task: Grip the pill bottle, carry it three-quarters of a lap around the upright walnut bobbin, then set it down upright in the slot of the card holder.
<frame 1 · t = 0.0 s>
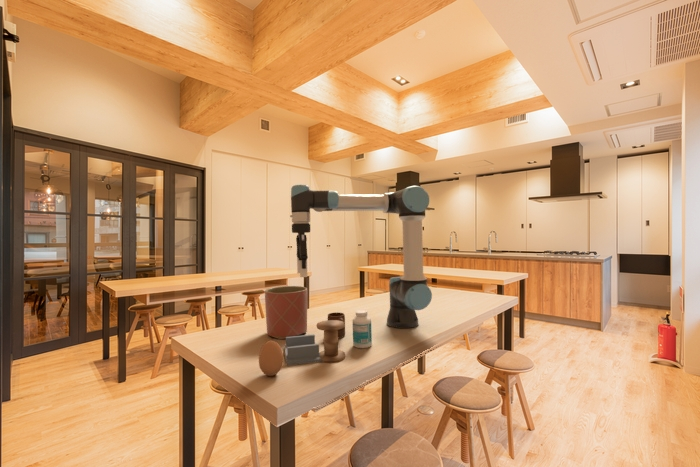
hand: (302, 275, 130), 28 cm above the table, fingers open, 13 cm apart
egg: (271, 375, 101), on the table
mug: (338, 337, 137), on the table
card holder: (301, 354, 118), on the table
bobbin: (331, 357, 114), on the table
planter: (287, 333, 144), on the table
pill bottle: (362, 346, 126), on the table
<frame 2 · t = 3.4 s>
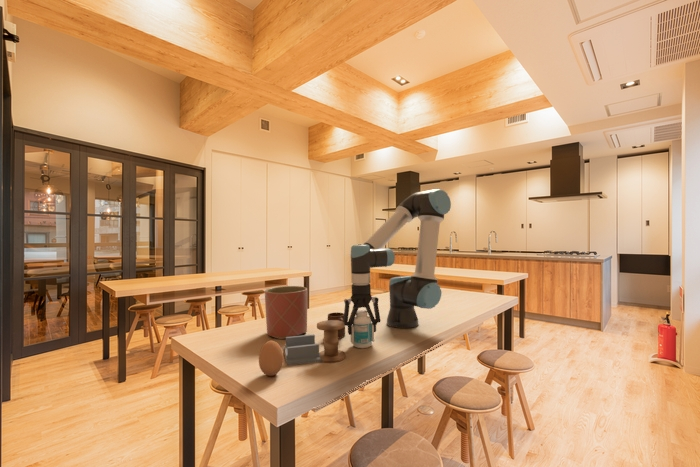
hand: (362, 341, 126), 2 cm above the table, fingers closed on pill bottle, 7 cm apart
pill bottle: (362, 346, 126), on the table, touching gripper
everything else where it was.
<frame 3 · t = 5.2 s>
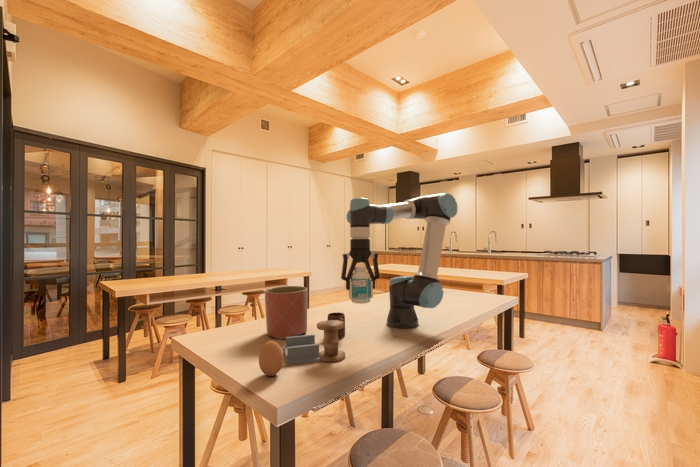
hand: (360, 297, 122), 20 cm above the table, fingers closed on pill bottle, 7 cm apart
pill bottle: (360, 302, 122), point 18 cm above the table, touching gripper
everything else where it was.
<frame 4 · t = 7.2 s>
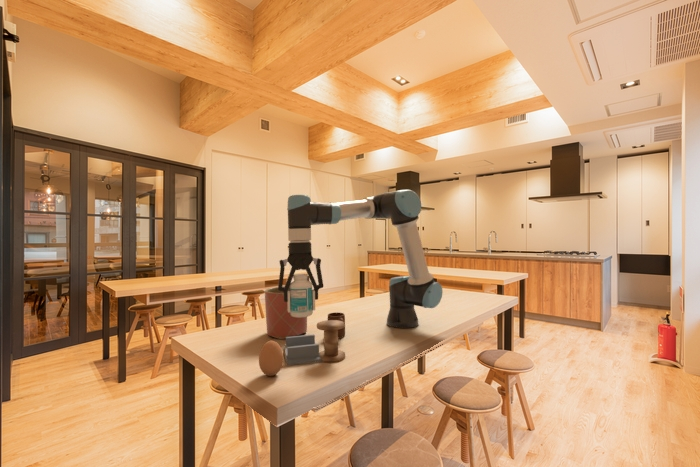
hand: (301, 310, 105), 19 cm above the table, fingers closed on pill bottle, 7 cm apart
pill bottle: (301, 315, 105), point 17 cm above the table, touching gripper
everything else where it was.
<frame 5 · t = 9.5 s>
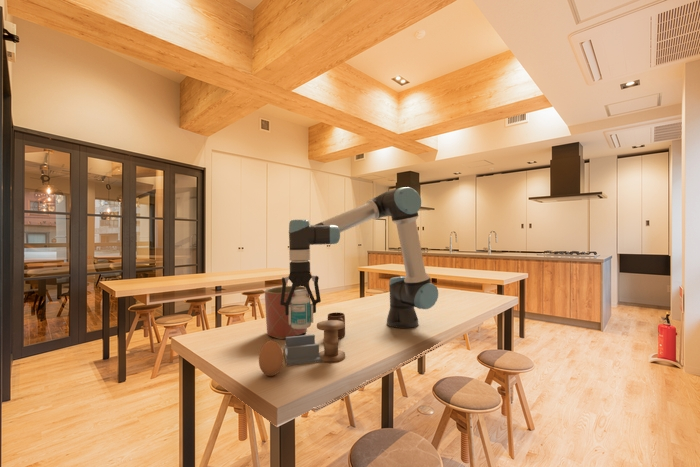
hand: (301, 322, 118), 12 cm above the table, fingers closed on pill bottle, 7 cm apart
pill bottle: (301, 327, 118), point 10 cm above the table, touching gripper
everything else where it was.
when the fingers open (5 cm above the table, at t = 11.2 s): pill bottle drops 2 cm, resting on card holder.
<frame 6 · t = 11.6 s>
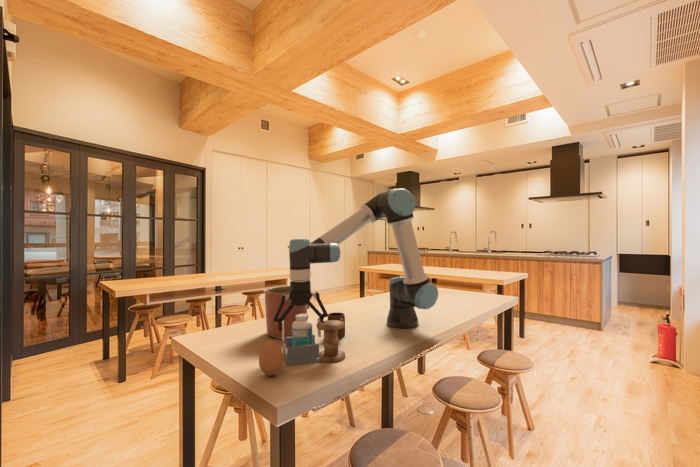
hand: (301, 337, 118), 6 cm above the table, fingers open, 13 cm apart
pill bottle: (302, 352, 118), point 1 cm above the table, touching card holder
everything else where it was.
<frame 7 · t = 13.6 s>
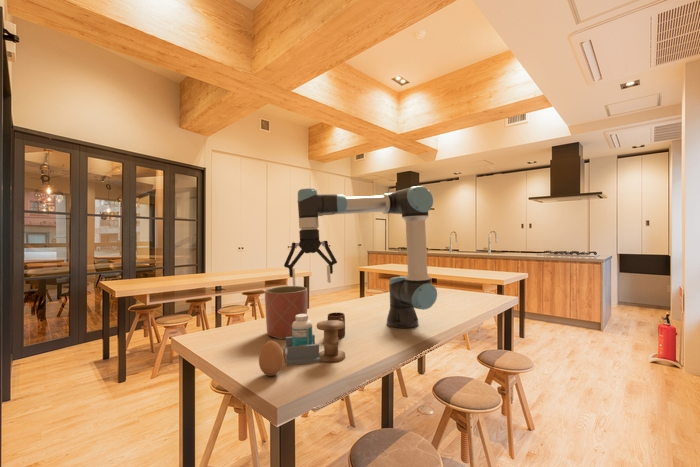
hand: (311, 283, 123), 25 cm above the table, fingers open, 13 cm apart
nothing on the table moved.
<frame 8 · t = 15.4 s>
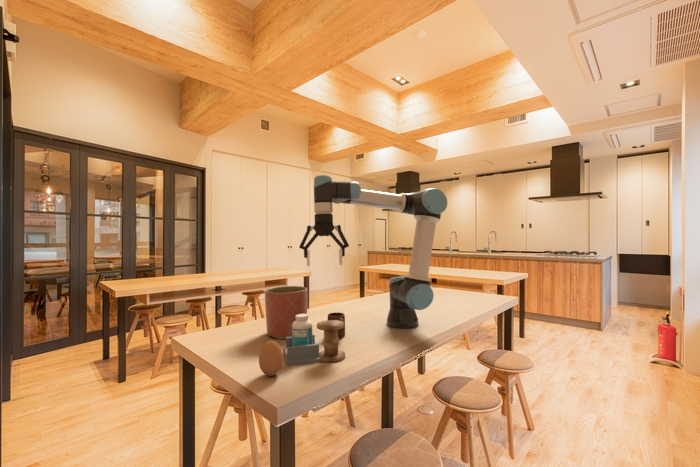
hand: (324, 265, 130), 32 cm above the table, fingers open, 13 cm apart
nothing on the table moved.
at the end: pill bottle inside the target area on the card holder (0.6 cm from its centre), point 0.8 cm above the card holder's base; pill bottle tilted 0°; the gripper is holding nothing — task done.
